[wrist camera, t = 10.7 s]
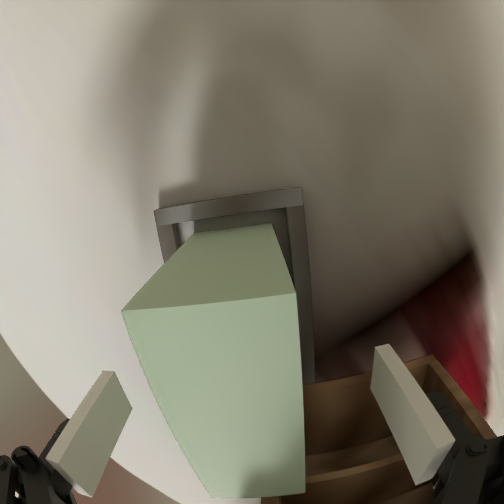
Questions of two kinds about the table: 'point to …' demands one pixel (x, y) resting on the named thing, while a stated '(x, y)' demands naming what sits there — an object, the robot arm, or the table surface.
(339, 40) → the table surface
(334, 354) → the table surface
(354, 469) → the cabinet
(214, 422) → the tall sage green box
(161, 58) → the table surface
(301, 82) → the table surface
